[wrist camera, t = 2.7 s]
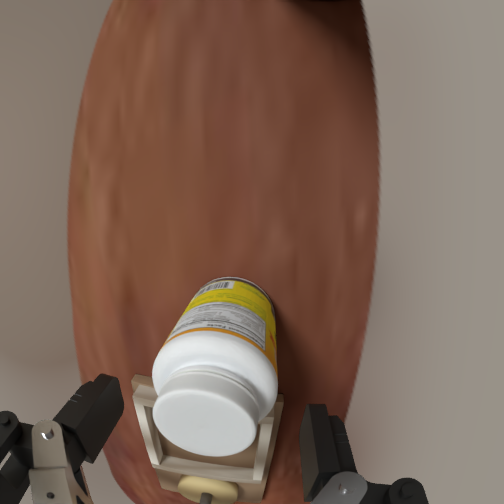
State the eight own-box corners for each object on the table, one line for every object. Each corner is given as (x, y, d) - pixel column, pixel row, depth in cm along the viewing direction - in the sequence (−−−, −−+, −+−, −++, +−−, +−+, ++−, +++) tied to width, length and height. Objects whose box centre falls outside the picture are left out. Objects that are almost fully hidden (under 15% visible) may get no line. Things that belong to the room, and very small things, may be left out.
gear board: (135, 373, 21) (108, 416, 15) (283, 394, 20) (285, 447, 15) (163, 482, 25) (153, 515, 20) (261, 496, 25) (259, 532, 19)
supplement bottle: (249, 360, 20) (234, 479, 10) (179, 323, 19) (118, 428, 9) (292, 300, 18) (310, 415, 8) (215, 257, 18) (157, 343, 8)
